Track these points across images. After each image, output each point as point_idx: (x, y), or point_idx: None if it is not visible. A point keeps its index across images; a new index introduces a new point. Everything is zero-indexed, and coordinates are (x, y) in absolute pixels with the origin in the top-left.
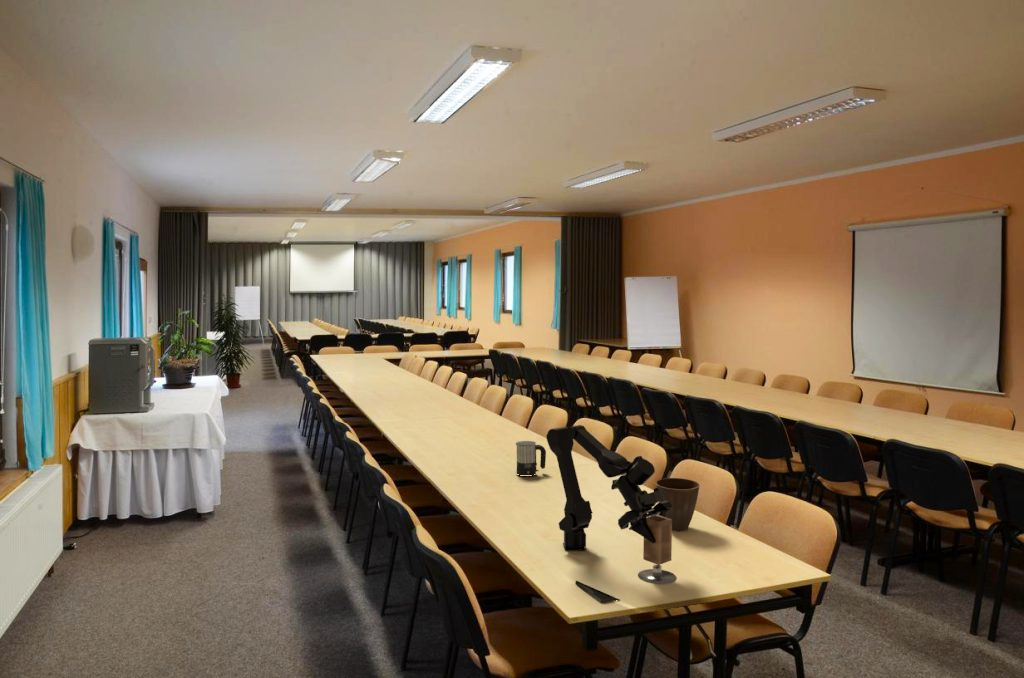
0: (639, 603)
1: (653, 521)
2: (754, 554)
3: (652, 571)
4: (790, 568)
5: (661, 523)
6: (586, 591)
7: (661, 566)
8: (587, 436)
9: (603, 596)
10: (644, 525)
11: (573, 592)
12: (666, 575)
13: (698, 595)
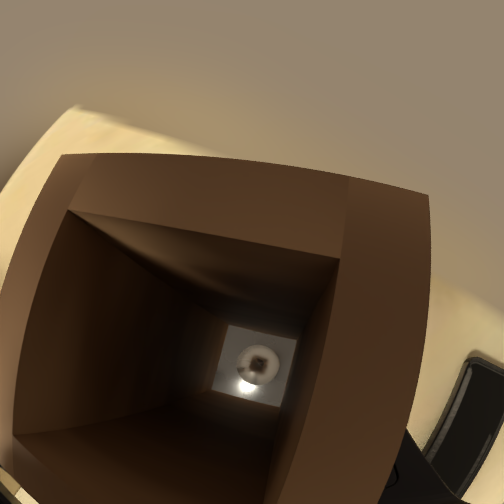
0: (466, 304)
1: (414, 391)
2: (7, 214)
3: None
4: (54, 140)
5: (357, 189)
6: (483, 457)
7: (249, 346)
8: None
9: (497, 400)
10: (435, 491)
11: (490, 474)
12: (229, 336)
13: None
